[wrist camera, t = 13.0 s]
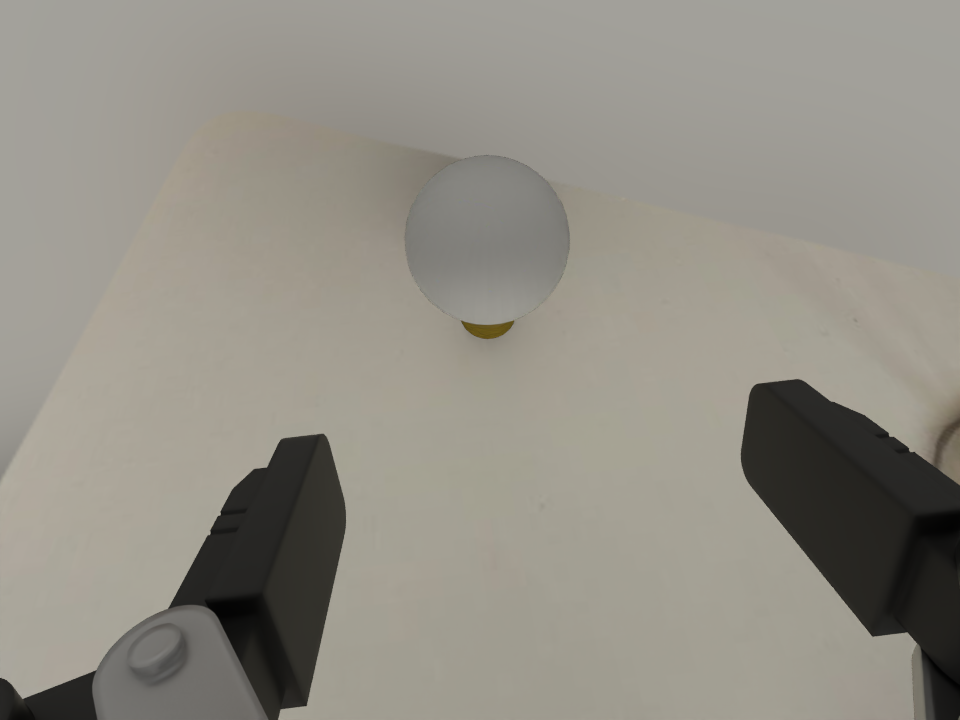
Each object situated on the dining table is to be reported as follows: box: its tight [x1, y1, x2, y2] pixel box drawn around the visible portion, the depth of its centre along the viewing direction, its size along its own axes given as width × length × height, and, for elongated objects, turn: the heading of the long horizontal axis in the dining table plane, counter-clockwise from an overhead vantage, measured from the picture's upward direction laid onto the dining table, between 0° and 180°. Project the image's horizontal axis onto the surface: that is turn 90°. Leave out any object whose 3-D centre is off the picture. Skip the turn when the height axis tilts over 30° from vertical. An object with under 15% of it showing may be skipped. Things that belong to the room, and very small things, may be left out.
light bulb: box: [405, 155, 570, 339], centre depth 21 cm, size 6×6×10 cm
